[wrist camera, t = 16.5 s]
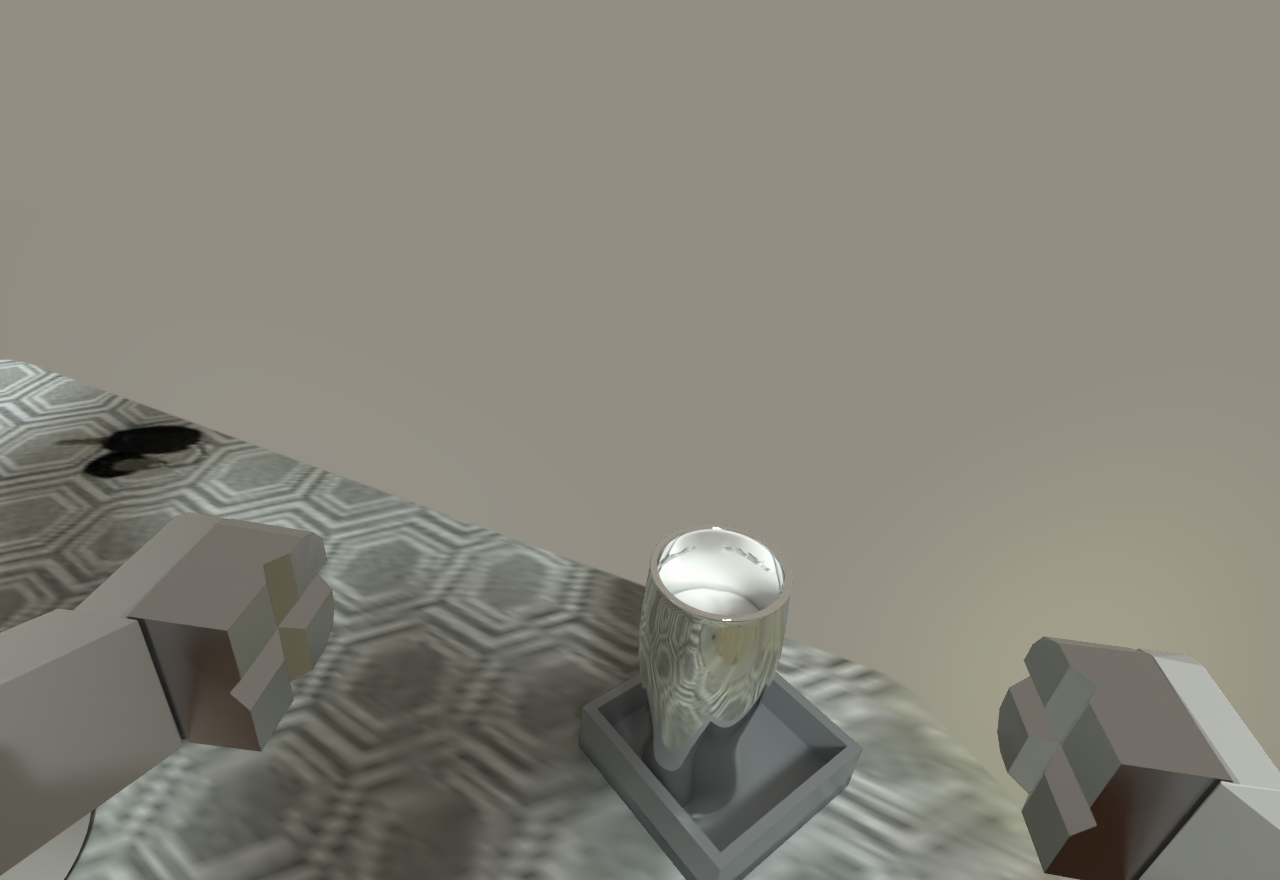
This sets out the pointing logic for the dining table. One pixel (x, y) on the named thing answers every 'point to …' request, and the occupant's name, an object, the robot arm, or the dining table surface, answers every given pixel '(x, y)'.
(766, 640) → the silver tall rounded piece
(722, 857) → the box
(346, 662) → the dining table surface
